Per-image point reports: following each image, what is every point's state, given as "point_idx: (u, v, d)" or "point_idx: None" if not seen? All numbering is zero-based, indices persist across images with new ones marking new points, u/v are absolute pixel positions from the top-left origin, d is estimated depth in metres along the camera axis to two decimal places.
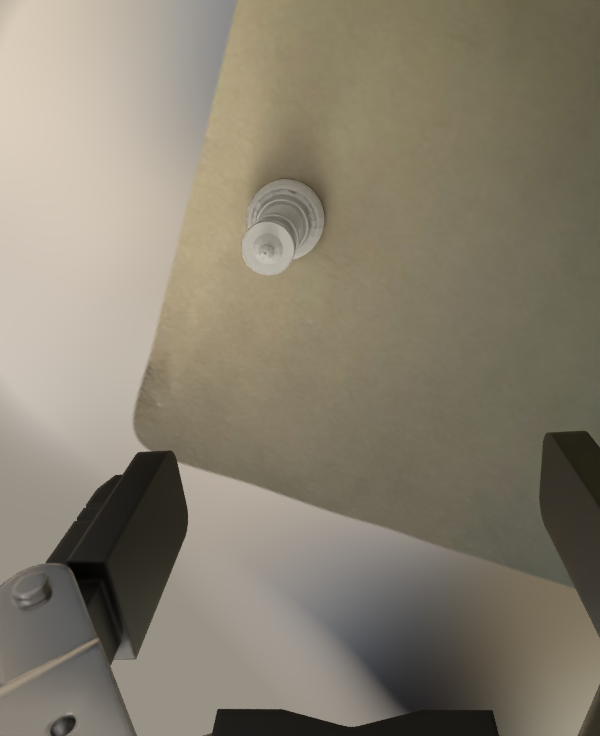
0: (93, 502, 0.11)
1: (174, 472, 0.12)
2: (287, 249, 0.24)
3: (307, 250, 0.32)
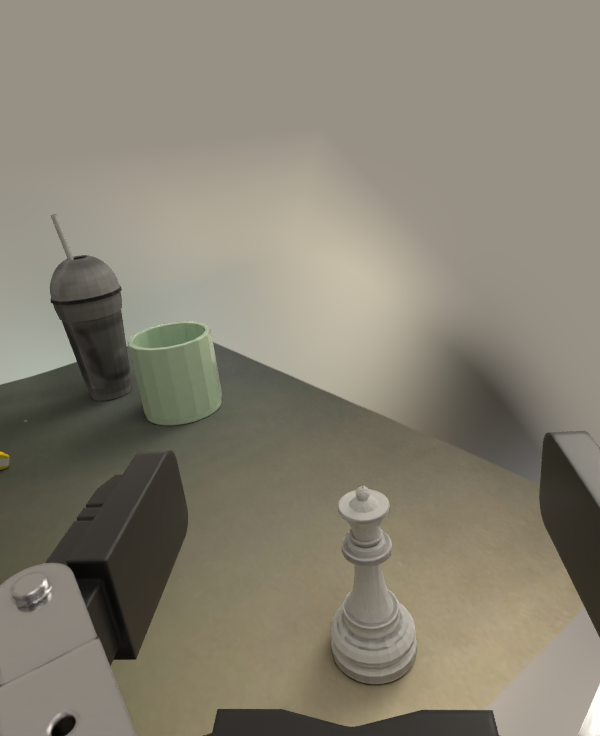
0: (93, 503, 0.11)
1: (173, 471, 0.12)
2: (347, 498, 0.26)
3: None
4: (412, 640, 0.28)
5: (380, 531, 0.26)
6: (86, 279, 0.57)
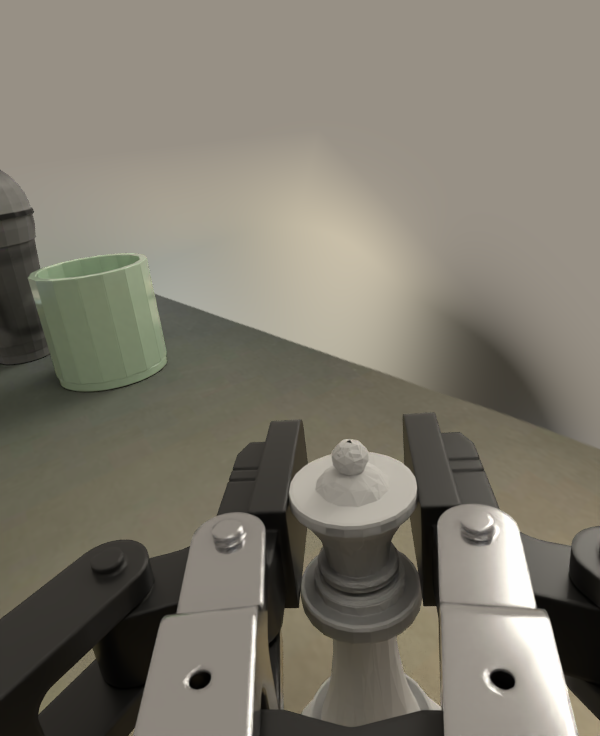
0: (239, 466, 0.12)
1: (303, 439, 0.13)
2: (312, 473, 0.11)
3: None
4: None
5: (394, 553, 0.11)
6: None
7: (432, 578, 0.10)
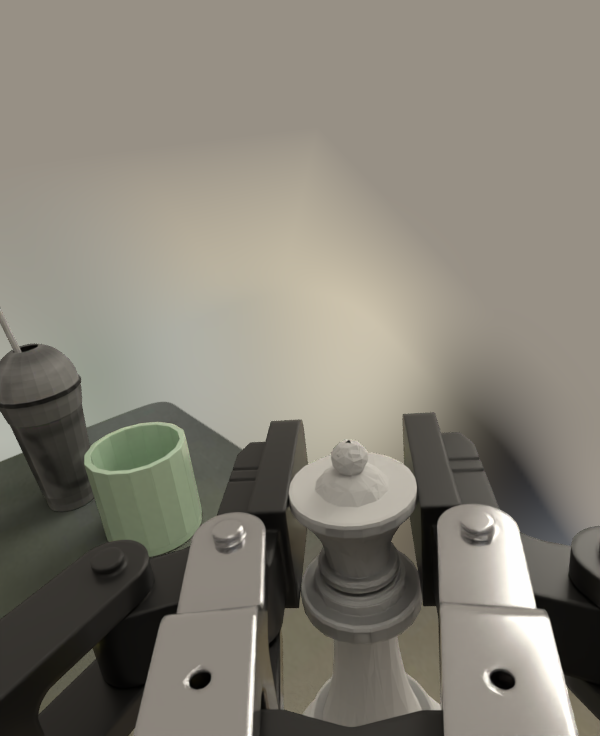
0: (239, 466, 0.12)
1: (303, 440, 0.13)
2: (311, 473, 0.11)
3: None
4: None
5: (394, 553, 0.11)
6: (34, 377, 0.47)
7: (432, 578, 0.10)
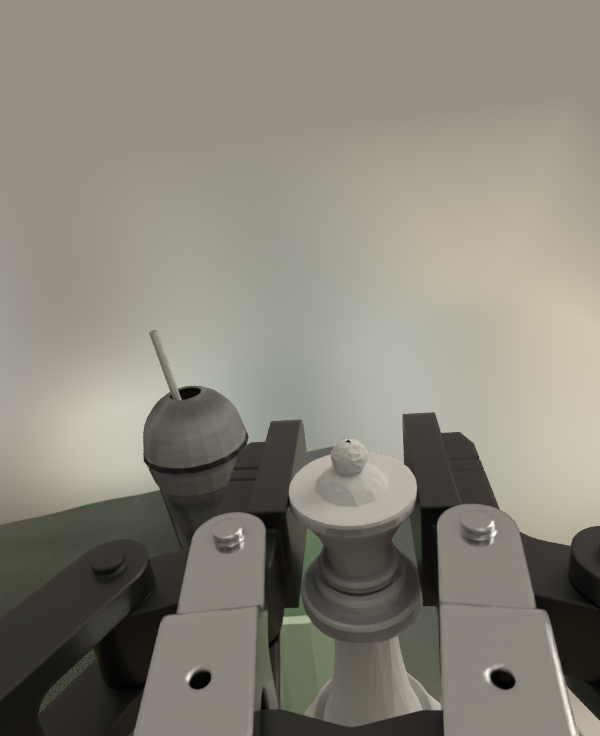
0: (239, 466, 0.12)
1: (303, 440, 0.13)
2: (311, 473, 0.11)
3: None
4: None
5: (394, 552, 0.11)
6: (187, 438, 0.35)
7: (432, 578, 0.10)
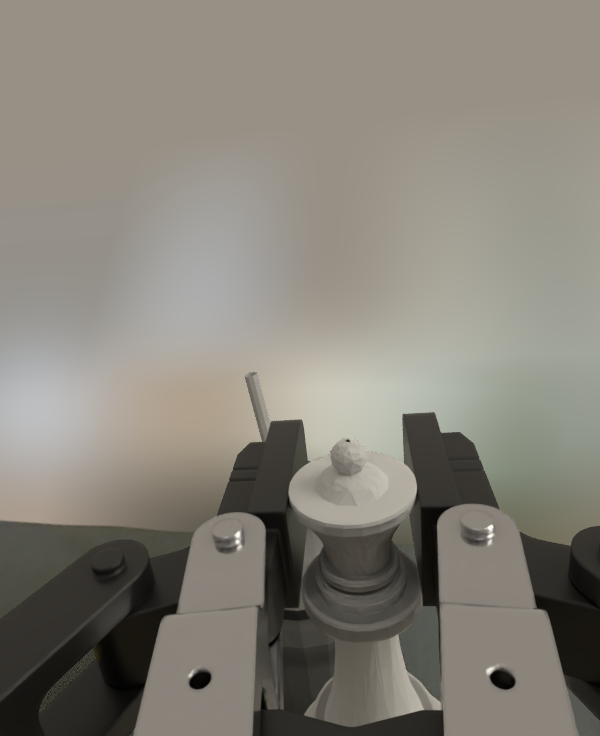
0: (240, 466, 0.12)
1: (303, 439, 0.13)
2: (311, 472, 0.11)
3: None
4: None
5: (394, 552, 0.11)
6: None
7: (432, 578, 0.10)
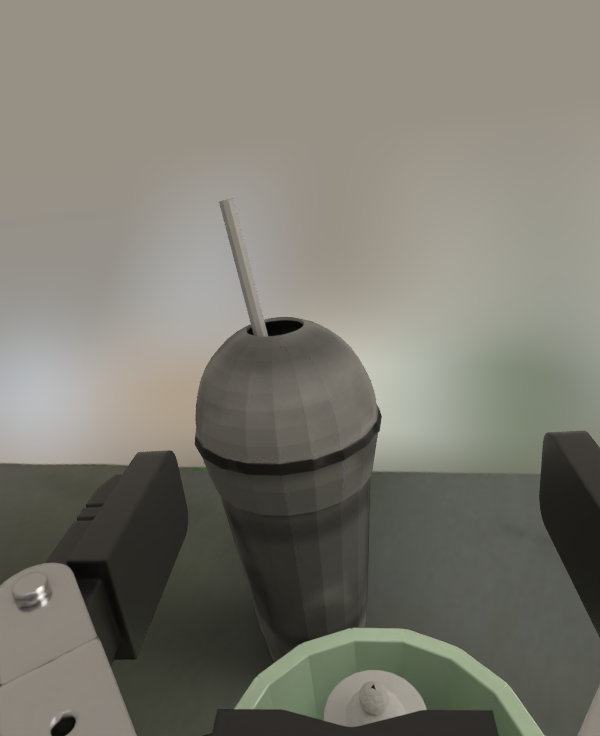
0: (93, 502, 0.11)
1: (173, 471, 0.12)
2: (342, 697, 0.13)
3: None
4: None
5: None
6: (247, 408, 0.19)
7: None
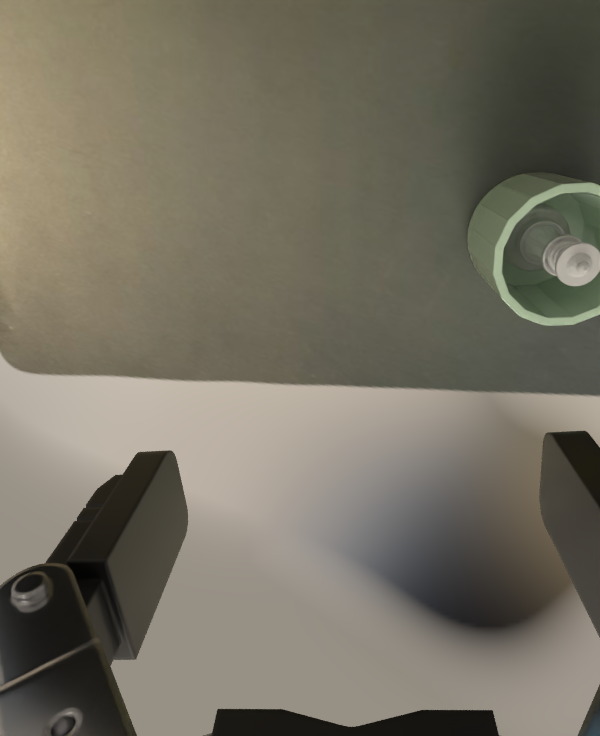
0: (93, 503, 0.11)
1: (173, 471, 0.12)
2: (588, 250, 0.30)
3: (568, 230, 0.36)
4: (520, 269, 0.38)
5: None
6: None
7: None
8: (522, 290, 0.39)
